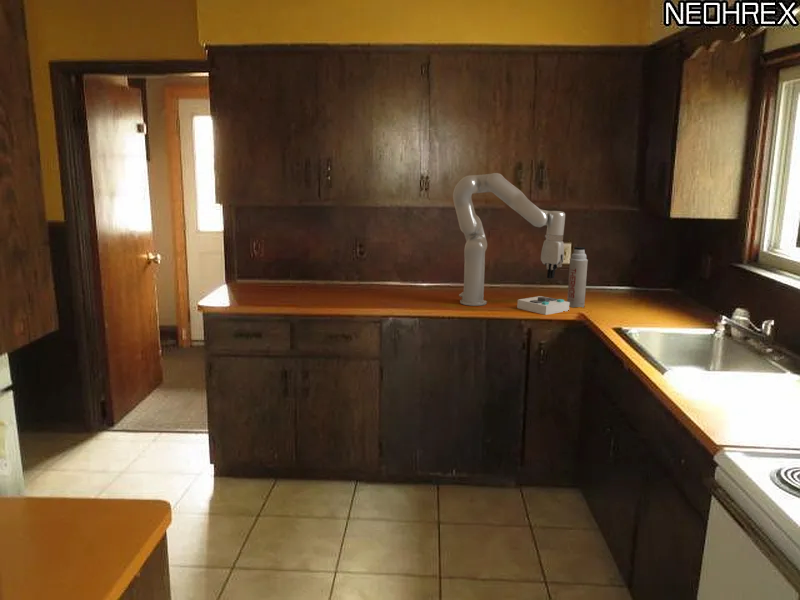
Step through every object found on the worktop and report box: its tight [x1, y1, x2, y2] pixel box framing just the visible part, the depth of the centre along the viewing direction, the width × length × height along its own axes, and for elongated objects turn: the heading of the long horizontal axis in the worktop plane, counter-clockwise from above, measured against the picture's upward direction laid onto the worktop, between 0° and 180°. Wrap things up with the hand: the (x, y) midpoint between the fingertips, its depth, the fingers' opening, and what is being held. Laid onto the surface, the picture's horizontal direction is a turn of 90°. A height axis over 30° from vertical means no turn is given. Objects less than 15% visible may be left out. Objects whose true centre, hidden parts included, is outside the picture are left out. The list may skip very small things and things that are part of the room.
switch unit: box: [516, 295, 570, 316], centre depth 303 cm, size 17×16×5 cm
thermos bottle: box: [566, 246, 589, 308], centre depth 309 cm, size 8×8×28 cm
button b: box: [537, 296, 551, 302], centre depth 303 cm, size 4×3×4 cm
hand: (550, 278), depth 304 cm, fingers closed
